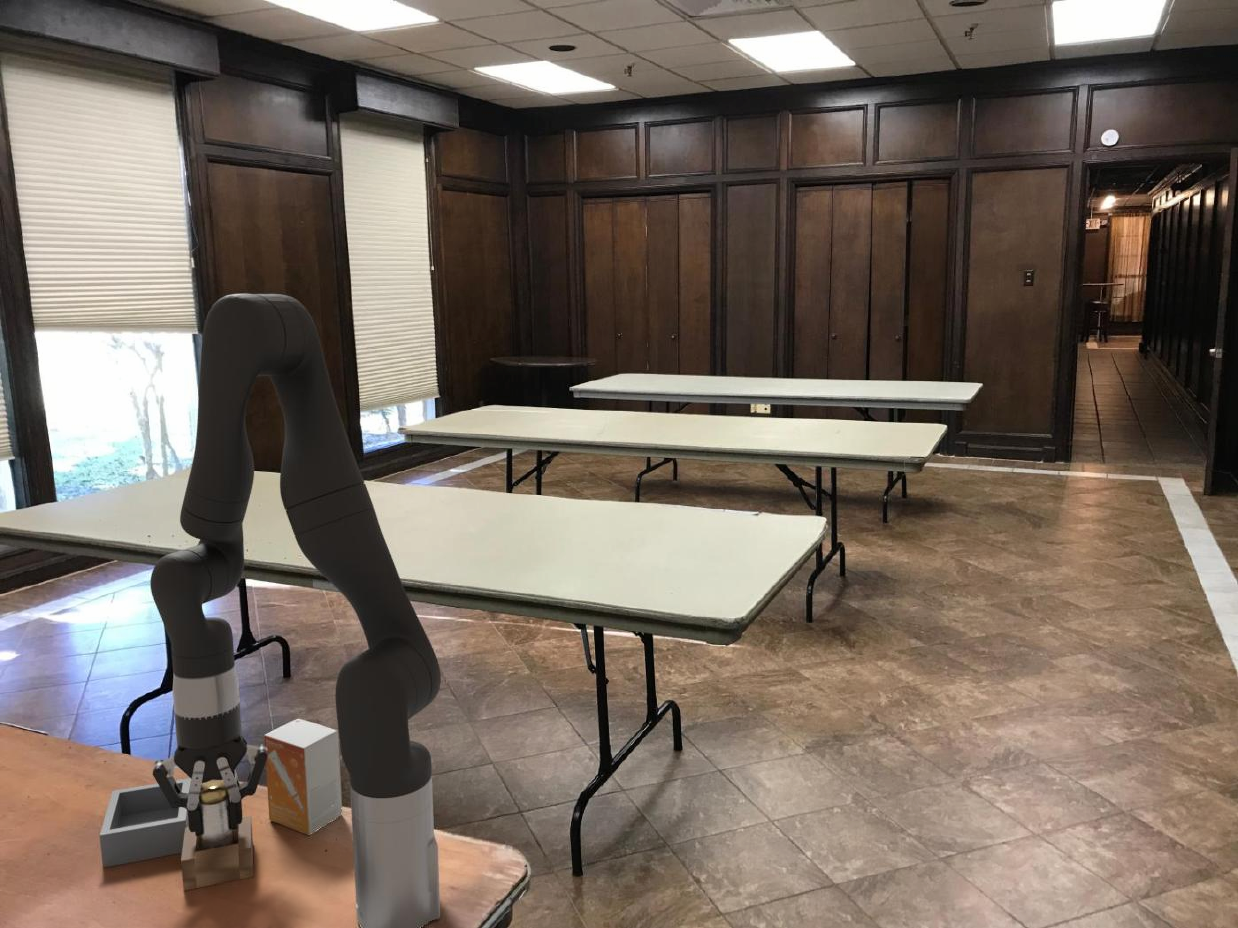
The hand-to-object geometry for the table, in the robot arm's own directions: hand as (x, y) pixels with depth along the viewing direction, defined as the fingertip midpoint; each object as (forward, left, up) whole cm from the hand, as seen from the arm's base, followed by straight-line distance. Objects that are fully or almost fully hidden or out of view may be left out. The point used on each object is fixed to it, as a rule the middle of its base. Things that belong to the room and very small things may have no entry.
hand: (217, 828), depth 120 cm
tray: (+9, -11, -5) cm, 15 cm away
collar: (0, 0, -5) cm, 5 cm away
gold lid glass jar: (0, 0, -5) cm, 5 cm away
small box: (-11, -8, -5) cm, 15 cm away
